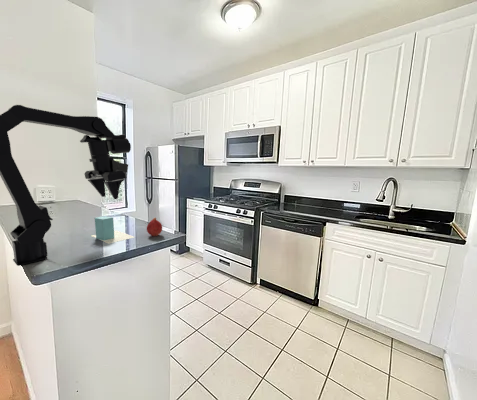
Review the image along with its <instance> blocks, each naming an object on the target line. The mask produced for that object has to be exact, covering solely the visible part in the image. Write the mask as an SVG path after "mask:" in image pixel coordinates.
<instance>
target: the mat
mask: <svg viewBox="0 0 477 400" xmlns="http://www.w3.org/2000/svg"><path fill="white" fill-rule="evenodd" d="M91 237H92V238H95V239H96V234H93V235H91ZM134 238H135V236H133V235H130V234H128V233H125V232H122V231H119V230H114V238H112V239H108V240H100V239H98V240H99V241H102V242H104V243H106V244H109V245H110V244H114V243H117V242H122V241H126V240H130V239H134Z"/></svg>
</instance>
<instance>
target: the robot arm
mask: <svg viewBox="0 0 477 400" xmlns="http://www.w3.org/2000/svg"><path fill="white" fill-rule="evenodd" d="M21 123H30V124H36V125H43V126H50V127H57V128H63V129H69V130H72V131H75V132H78V133H79V134H83V137H82V138H81V139H80V140H79V142H80V143H82V144H83V143H87V145H88V151H89V154H90V158H89V159H88V160H89V162H90V163H92V166H93V169H91V170H90V169H89V170H86V171H85V172H84V178H85V179H86V180H87V181H88V182H89V183H90V184H91V185H92V186H93V188H94V189H95V190H96V191H97V192H98V194H99V195H100V196H101V197H102V198H105V197H106V187H107V190H108V192H109V193H110V194H111V196H112V198H113V200H118V199H119V193H120V186H121V184H122V183H123V182H124V181H125V180H126V179H127V177H128V176H127V173H128V169H129V164H127V163H124V162H120V161H118V160H115V158H113V156H110V153H111V154H112V155H113V154H114V155H119V154H128V153H130V152H131V148H132V145H131V143H130V141H129V139H128V138H127V136H126V134H125V133H124V134H123V133H122V134H117V135H115V133H114V132H113V131H112V130H111V129H110V128H109V127H108V126H107V124H106V123H105V121H104V120H103V119H102V118H101V117H99V116H89V115H88V116H86V115H85V116H84V115H83V116H82V115H80V116H75V115H68V114H64V113H59V112H55V111H54V112H52V111H49V110H43V109H39V108H38V109H37V108H32V107H27V106H24V105H22V104H15V105H12V106H11V107H9V108H8V110H6V111H4V112H3V113H0V178H1V180H2V181H3V183H4V186H5V187H6V190H7V192H8V193H9V195H10V197H11V199H12V201H13V203H14V204H15V205H14V206H15V207H16V208H15V209H16V216H17V219H18V225H17V226H16V227H15V228H14V229H12V230H11V232H9V234H10V235H11V237H12V238H13V239H14V240H12V242H11V245H12V251H13V256H14V257H13V259H12V261H13V262H14V264H15V265H16V266H17V267H19V266H20V267H21V266H23V265H24V266H25V265H28V264H32V263H36V262H40V261H44V260H48V248H47V247H48V246H47V242H46V241H45V240H44V238H45V234H46V233H48V231H49V230H51V227H52V222H51V221H53V220H54V219H53V218H52V217H51V216H50V214H49V210H48V208H47V207H45V206H43V205H37V204H36V202H35V200H34V198H33V196H32V193H31V192H30V189H29V188H28V186H27V184H26V182H25V180H24V177H23V176H22V173H21V171H20V169H19V167H18V165H17V164H16V162H15V159H14V158H13V155H12V148H11V141H10V138H9V131H11V130H12V129H14V128H15V127H17V126H19V125H20V124H21ZM105 186H106V187H105Z"/></svg>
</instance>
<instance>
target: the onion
mask: <svg viewBox="0 0 477 400" xmlns="http://www.w3.org/2000/svg"><path fill="white" fill-rule="evenodd" d="M162 231H163V224H162V222H160V221H159V220H158V219H157V218H156V217H153V218H152V220H150V221H148V224H147V226H146V232H147V234H149V235H150V236H152V237H157V236H159V235H160V234H161V233H162Z"/></svg>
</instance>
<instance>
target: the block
mask: <svg viewBox="0 0 477 400" xmlns="http://www.w3.org/2000/svg"><path fill="white" fill-rule="evenodd" d="M94 225H95V228H94V229H95V235H96V238H95V239H97V240H99V239H100V240H99V241H101V240H108V239H112V238H114V231H115V227H114V225H115V224H114V217H113V216H106V215H104V216H103V215H102V216H98V217H94Z"/></svg>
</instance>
